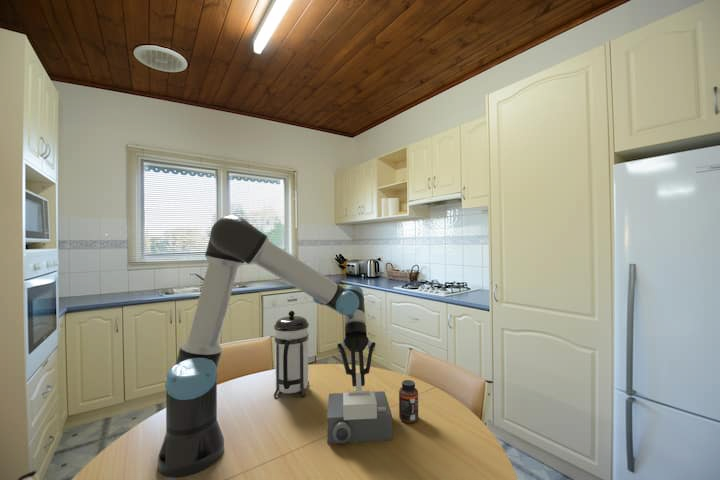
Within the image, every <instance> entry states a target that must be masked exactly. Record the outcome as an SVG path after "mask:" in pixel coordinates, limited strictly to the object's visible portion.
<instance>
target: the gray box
mask: <svg viewBox="0 0 720 480" xmlns="http://www.w3.org/2000/svg"><path fill="white" fill-rule="evenodd" d="M343 393H344V392H339V393H338V392H337V393H336V392H335V393H328V400H327V415H326V416H327V417H326V418H327V419H326V425H327V427H326V429H327V430H326V433H327V434H326V435H327V437H326V438H327V441H326V442H327V444H346V443H359V442H360V443H362V442H380V441H381V442H382V441H393V415H392V410H391V407H390V405H389V401H388V399H387V395H386V392H385V391H383V390H382V391H374V394H375V398H376V403H377V418H375V419H354V420H344V414H343Z"/></svg>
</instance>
